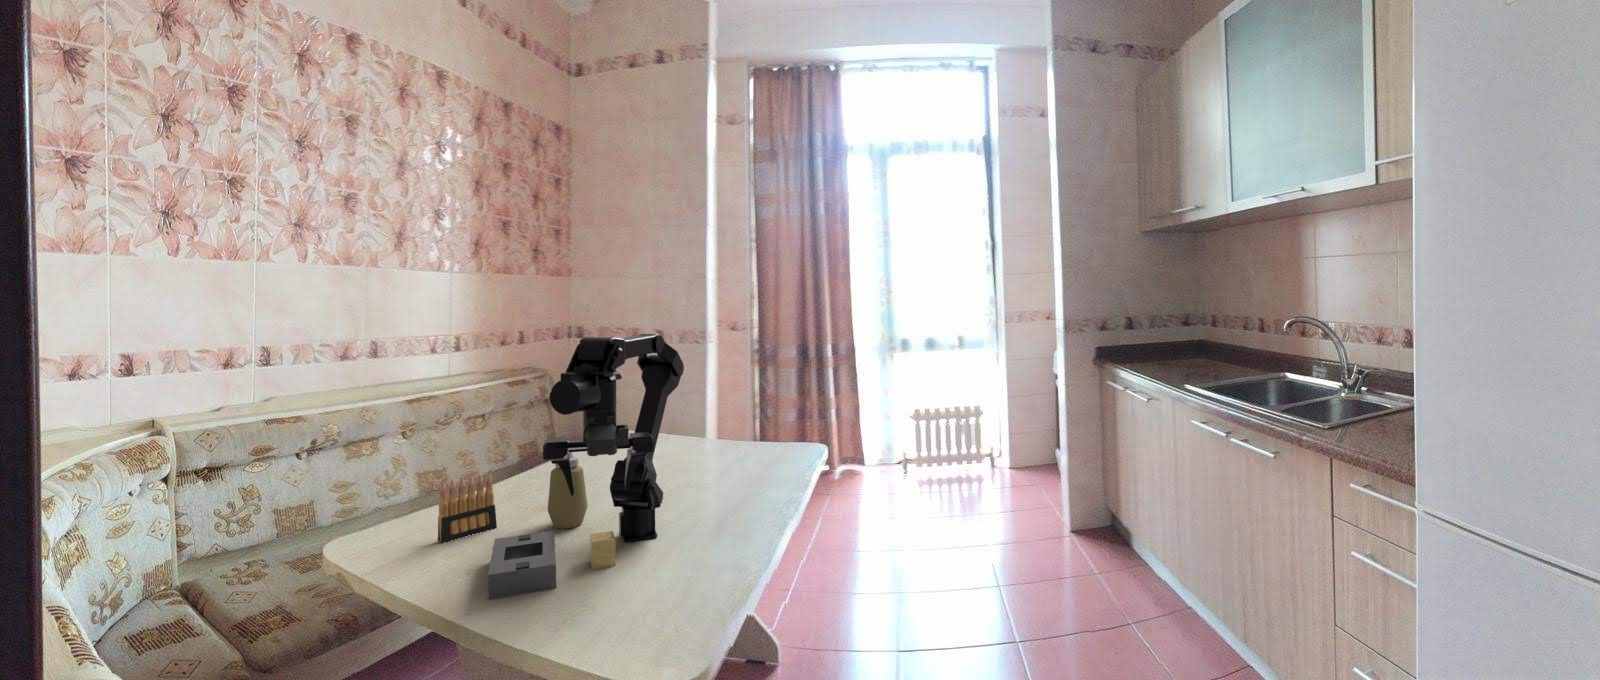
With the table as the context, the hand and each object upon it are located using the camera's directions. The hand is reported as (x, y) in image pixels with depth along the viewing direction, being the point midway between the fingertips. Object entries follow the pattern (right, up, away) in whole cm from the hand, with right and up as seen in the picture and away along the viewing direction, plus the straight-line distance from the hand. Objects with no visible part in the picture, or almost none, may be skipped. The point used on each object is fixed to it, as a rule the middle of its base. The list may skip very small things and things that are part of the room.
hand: (599, 492), depth 107 cm
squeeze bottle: (-13, -12, +20) cm, 27 cm away
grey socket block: (-12, -13, -3) cm, 18 cm away
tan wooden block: (0, -13, +1) cm, 13 cm away
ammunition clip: (-32, -13, +14) cm, 37 cm away
